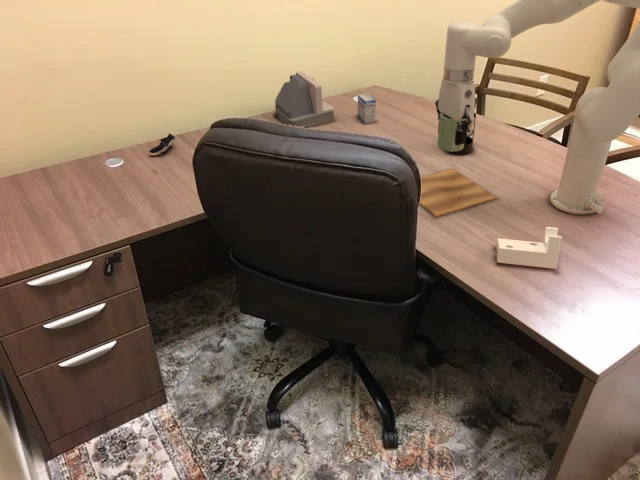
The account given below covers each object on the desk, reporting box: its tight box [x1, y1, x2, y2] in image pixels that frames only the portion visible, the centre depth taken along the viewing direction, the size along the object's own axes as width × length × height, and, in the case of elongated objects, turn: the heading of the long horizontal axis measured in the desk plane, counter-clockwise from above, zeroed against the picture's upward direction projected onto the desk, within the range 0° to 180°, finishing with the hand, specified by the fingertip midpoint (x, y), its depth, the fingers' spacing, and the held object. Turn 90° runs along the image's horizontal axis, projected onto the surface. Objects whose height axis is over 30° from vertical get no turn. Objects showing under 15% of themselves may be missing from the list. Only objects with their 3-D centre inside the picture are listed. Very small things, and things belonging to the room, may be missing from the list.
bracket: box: [495, 226, 563, 270], centre depth 125 cm, size 13×7×8 cm, turn 76°
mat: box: [419, 168, 497, 218], centre depth 155 cm, size 20×20×1 cm
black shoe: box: [148, 132, 177, 157], centre depth 187 cm, size 11×4×7 cm
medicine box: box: [357, 93, 377, 124], centre depth 200 cm, size 8×4×9 cm, turn 17°
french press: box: [445, 97, 479, 156], centre depth 172 cm, size 12×9×23 cm
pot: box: [437, 113, 464, 152], centre depth 144 cm, size 7×7×9 cm
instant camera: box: [274, 71, 335, 129], centre depth 203 cm, size 21×21×15 cm
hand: (451, 138), depth 146 cm, fingers closed on pot, 7 cm apart
